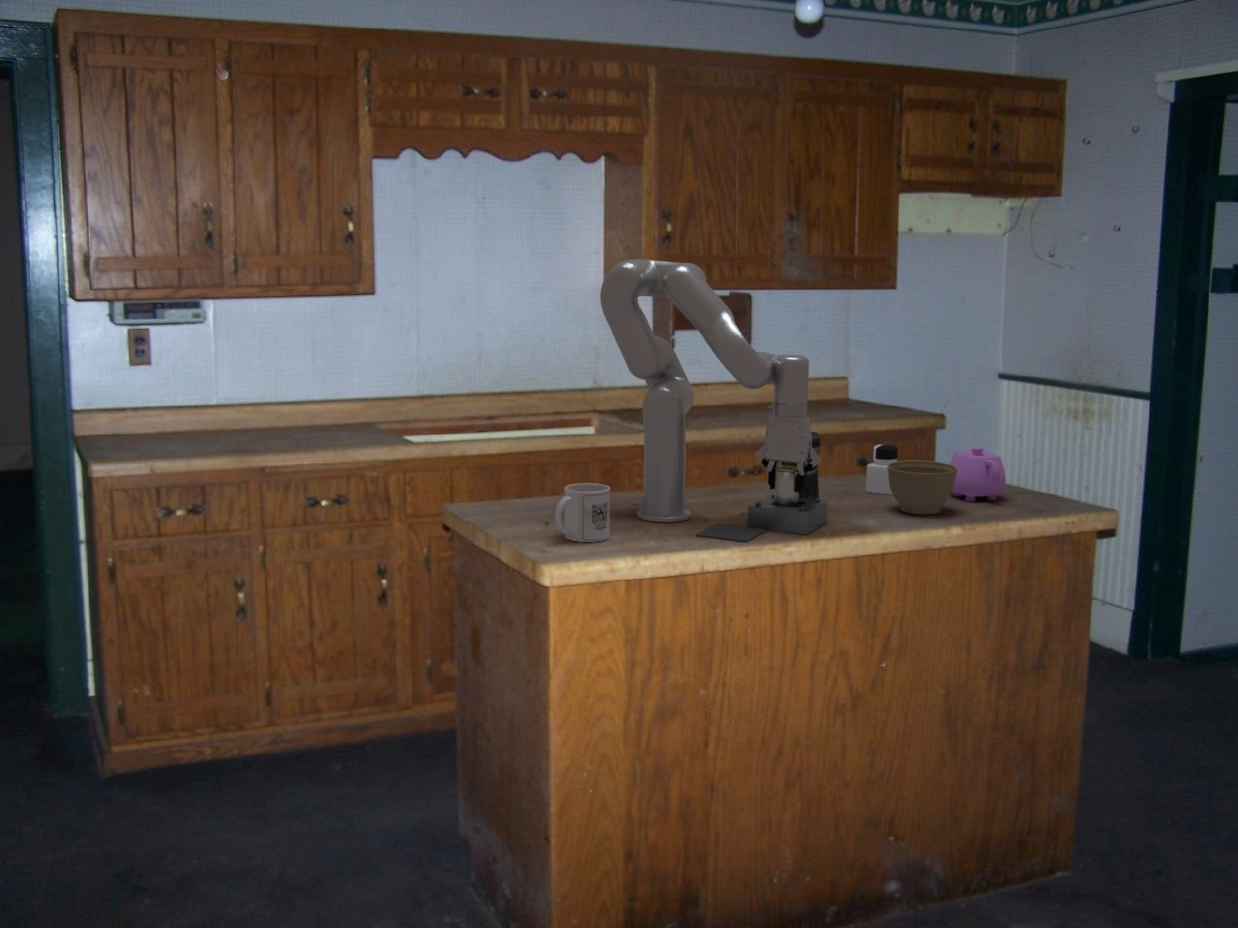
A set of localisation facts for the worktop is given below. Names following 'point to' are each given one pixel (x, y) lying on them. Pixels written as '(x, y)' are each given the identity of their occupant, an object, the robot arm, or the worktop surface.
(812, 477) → the coffee jar
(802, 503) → the housing
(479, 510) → the worktop surface
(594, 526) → the mug
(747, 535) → the rubber mat
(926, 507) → the planter bowl
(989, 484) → the teapot
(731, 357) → the robot arm
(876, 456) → the medicine bottle
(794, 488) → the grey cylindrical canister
